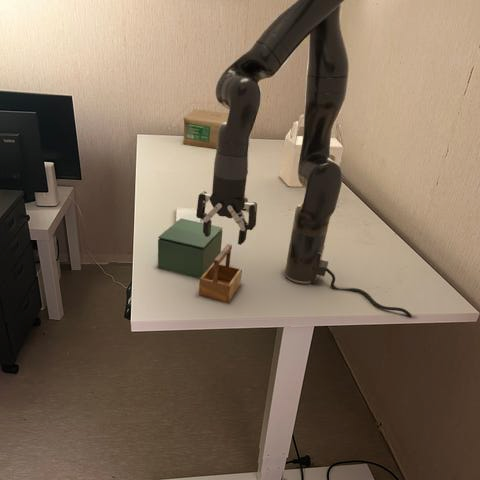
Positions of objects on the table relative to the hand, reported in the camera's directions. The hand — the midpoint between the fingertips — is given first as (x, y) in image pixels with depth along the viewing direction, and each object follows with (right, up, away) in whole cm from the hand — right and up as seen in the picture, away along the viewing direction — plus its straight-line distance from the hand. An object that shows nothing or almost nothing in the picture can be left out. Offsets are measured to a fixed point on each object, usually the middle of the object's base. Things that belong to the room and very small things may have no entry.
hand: (224, 239), depth 113 cm
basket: (-1, -12, +8) cm, 14 cm away
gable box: (+34, +42, +94) cm, 108 cm away
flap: (-8, +6, +18) cm, 20 cm away
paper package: (-11, +75, +136) cm, 156 cm away
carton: (-10, -3, +19) cm, 22 cm away
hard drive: (-14, +15, +46) cm, 50 cm away
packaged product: (+1, +26, +64) cm, 69 cm away
